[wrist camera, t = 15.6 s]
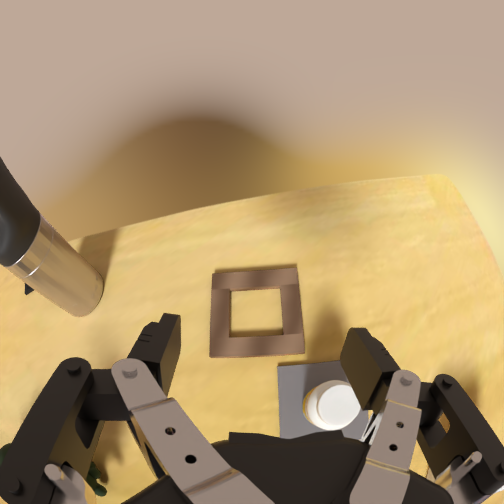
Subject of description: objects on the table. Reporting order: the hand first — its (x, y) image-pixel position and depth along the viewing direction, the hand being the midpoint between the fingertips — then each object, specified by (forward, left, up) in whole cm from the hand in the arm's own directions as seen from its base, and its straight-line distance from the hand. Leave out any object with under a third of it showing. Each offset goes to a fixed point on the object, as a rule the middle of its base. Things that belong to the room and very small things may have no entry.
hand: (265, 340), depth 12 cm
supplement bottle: (+6, -4, -22) cm, 23 cm away
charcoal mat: (+6, -4, -23) cm, 24 cm away
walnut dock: (-2, +9, -23) cm, 25 cm away
